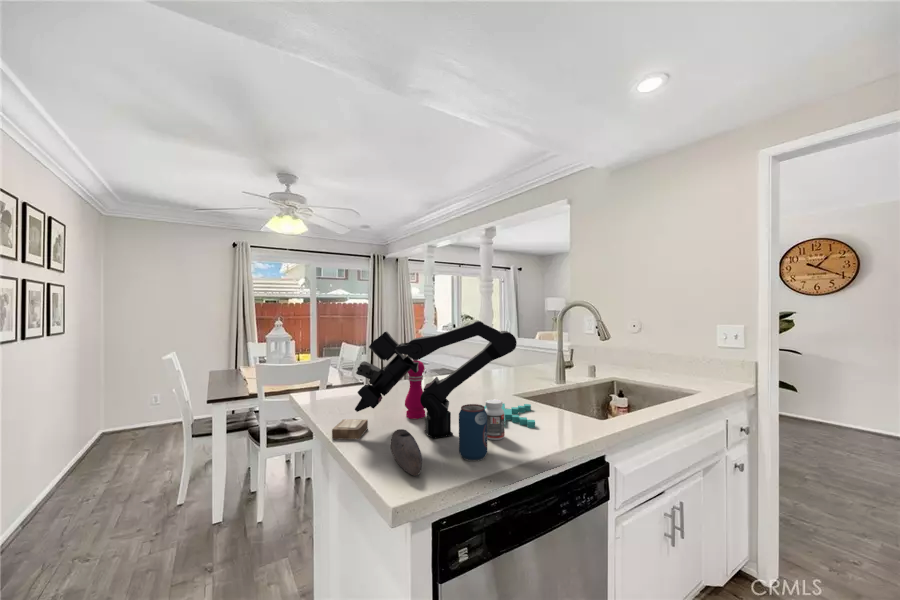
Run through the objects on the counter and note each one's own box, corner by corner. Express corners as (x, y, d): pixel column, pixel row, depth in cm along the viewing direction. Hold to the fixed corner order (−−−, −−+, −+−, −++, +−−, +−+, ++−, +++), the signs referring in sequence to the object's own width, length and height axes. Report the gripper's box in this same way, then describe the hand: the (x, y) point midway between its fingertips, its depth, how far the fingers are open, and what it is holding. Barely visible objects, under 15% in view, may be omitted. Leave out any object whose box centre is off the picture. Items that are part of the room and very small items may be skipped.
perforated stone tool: (429, 480, 81) (429, 447, 81) (405, 484, 79) (405, 451, 79) (409, 454, 95) (409, 426, 95) (388, 457, 93) (388, 429, 93)
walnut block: (367, 418, 114) (343, 418, 115) (358, 428, 105) (332, 428, 106) (367, 429, 114) (343, 429, 115) (358, 440, 105) (332, 440, 106)
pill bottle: (506, 440, 104) (506, 403, 104) (485, 441, 103) (485, 404, 103) (502, 433, 109) (501, 398, 109) (482, 433, 109) (482, 399, 109)
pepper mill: (404, 413, 129) (404, 354, 129) (426, 412, 130) (425, 354, 130) (404, 420, 122) (404, 357, 122) (427, 419, 123) (426, 357, 123)
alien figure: (530, 410, 133) (473, 408, 136) (530, 404, 133) (473, 402, 136) (535, 429, 114) (468, 427, 116) (535, 422, 114) (468, 419, 116)
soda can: (491, 460, 91) (491, 409, 91) (464, 463, 89) (463, 412, 89) (481, 449, 97) (480, 402, 97) (455, 452, 95) (455, 404, 95)
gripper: (381, 348, 119) (346, 383, 120) (365, 357, 101) (324, 398, 101) (406, 373, 119) (371, 409, 119) (395, 387, 100) (353, 428, 101)
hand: (356, 410), depth 110 cm, fingers closed
